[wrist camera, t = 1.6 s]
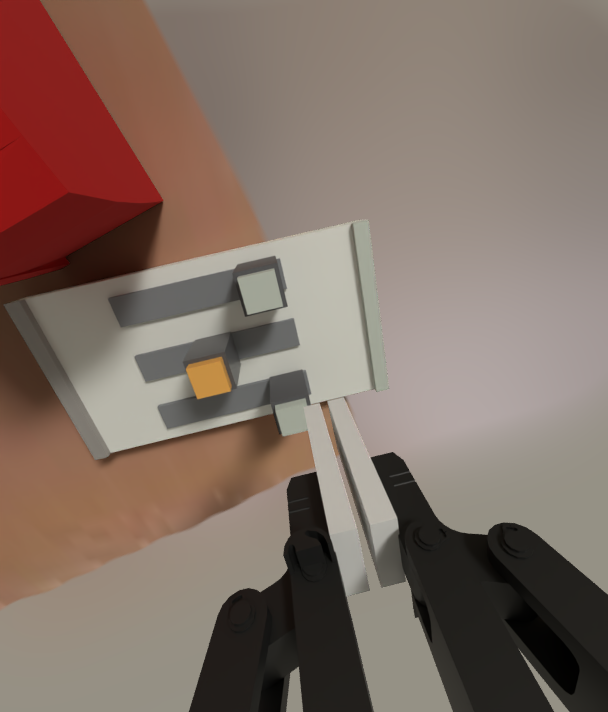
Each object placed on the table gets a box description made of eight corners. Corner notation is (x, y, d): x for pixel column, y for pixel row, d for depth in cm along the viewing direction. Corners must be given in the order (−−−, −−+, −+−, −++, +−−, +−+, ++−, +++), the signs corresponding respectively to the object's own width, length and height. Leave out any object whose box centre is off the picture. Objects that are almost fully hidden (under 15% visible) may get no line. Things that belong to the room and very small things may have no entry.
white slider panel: (107, 442, 33) (64, 503, 26) (26, 296, 27) (-59, 324, 20) (380, 376, 33) (411, 419, 26) (359, 219, 28) (392, 220, 20)
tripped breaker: (206, 372, 28) (194, 403, 23) (194, 339, 27) (179, 366, 22) (241, 363, 28) (236, 393, 23) (230, 331, 27) (223, 356, 22)
